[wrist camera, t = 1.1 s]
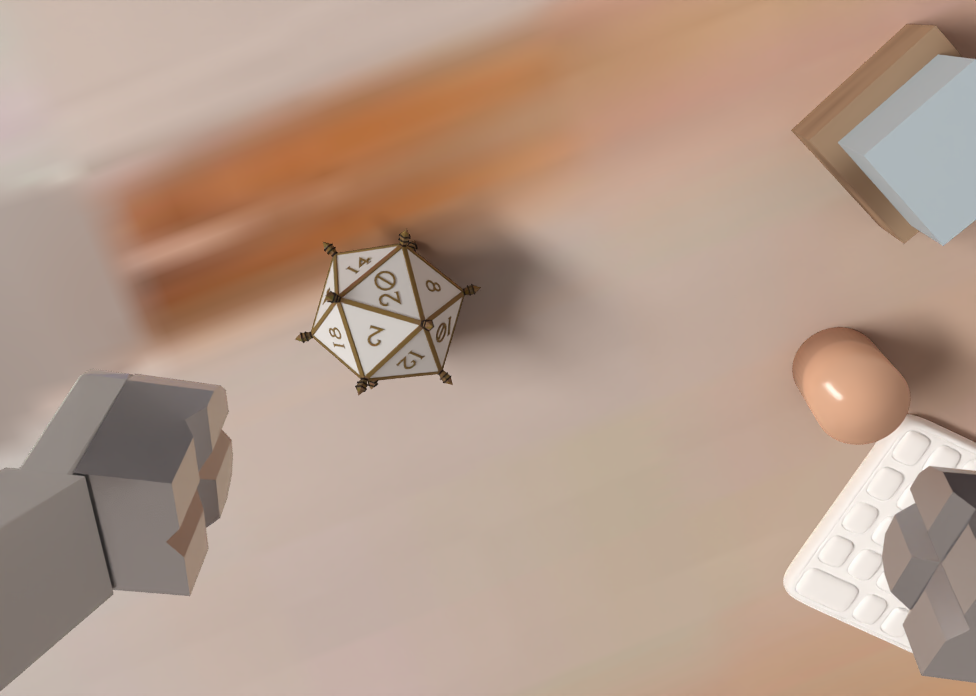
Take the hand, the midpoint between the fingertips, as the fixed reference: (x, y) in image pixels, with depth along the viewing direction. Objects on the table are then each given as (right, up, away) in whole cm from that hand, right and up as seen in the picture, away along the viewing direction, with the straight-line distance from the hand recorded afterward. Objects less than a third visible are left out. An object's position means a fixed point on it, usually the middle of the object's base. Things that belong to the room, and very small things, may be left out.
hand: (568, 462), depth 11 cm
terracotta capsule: (+18, 0, +39) cm, 43 cm away
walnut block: (+19, +12, +35) cm, 42 cm away
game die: (-6, +5, +40) cm, 41 cm away
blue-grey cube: (+19, +11, +31) cm, 38 cm away
